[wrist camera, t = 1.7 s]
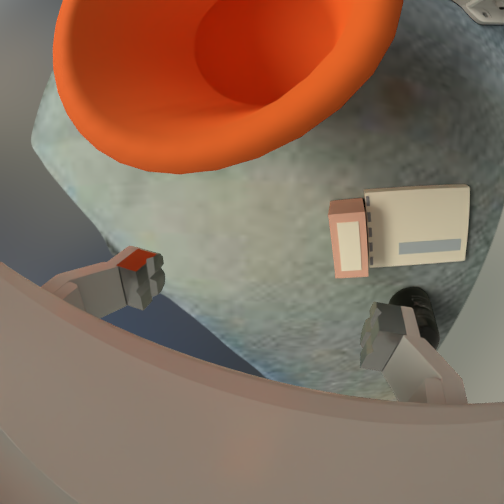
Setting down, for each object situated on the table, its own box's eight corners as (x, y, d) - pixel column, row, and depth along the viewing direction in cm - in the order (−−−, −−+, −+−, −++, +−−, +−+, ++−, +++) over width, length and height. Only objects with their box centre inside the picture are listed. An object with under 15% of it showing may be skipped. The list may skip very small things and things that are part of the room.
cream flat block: (465, 184, 26) (470, 187, 24) (461, 255, 30) (464, 261, 28) (363, 189, 31) (364, 193, 30) (368, 261, 35) (369, 268, 34)
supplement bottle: (378, 300, 37) (382, 363, 27) (417, 277, 34) (434, 337, 24) (399, 327, 38) (405, 388, 28) (435, 307, 35) (451, 367, 25)
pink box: (362, 197, 31) (364, 212, 27) (366, 256, 35) (368, 276, 30) (330, 200, 33) (328, 215, 29) (337, 257, 36) (335, 278, 32)
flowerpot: (192, -29, 22) (92, -77, 5) (381, -16, 17) (400, -111, 1) (164, 124, 35) (46, 154, 18) (347, 161, 30) (353, 225, 14)
